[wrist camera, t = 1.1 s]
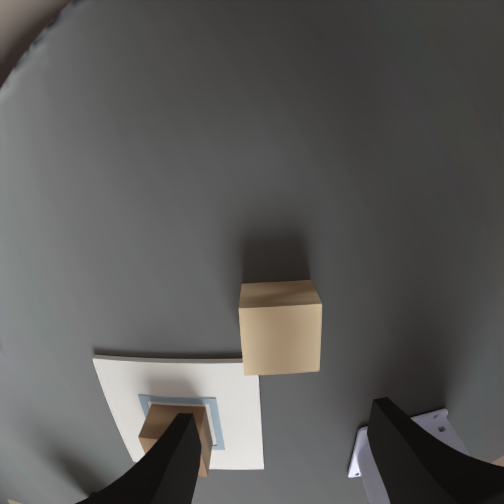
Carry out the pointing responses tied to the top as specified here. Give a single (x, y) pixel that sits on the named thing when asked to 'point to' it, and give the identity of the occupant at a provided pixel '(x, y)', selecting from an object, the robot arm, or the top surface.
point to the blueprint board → (188, 402)
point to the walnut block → (162, 418)
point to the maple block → (280, 327)
